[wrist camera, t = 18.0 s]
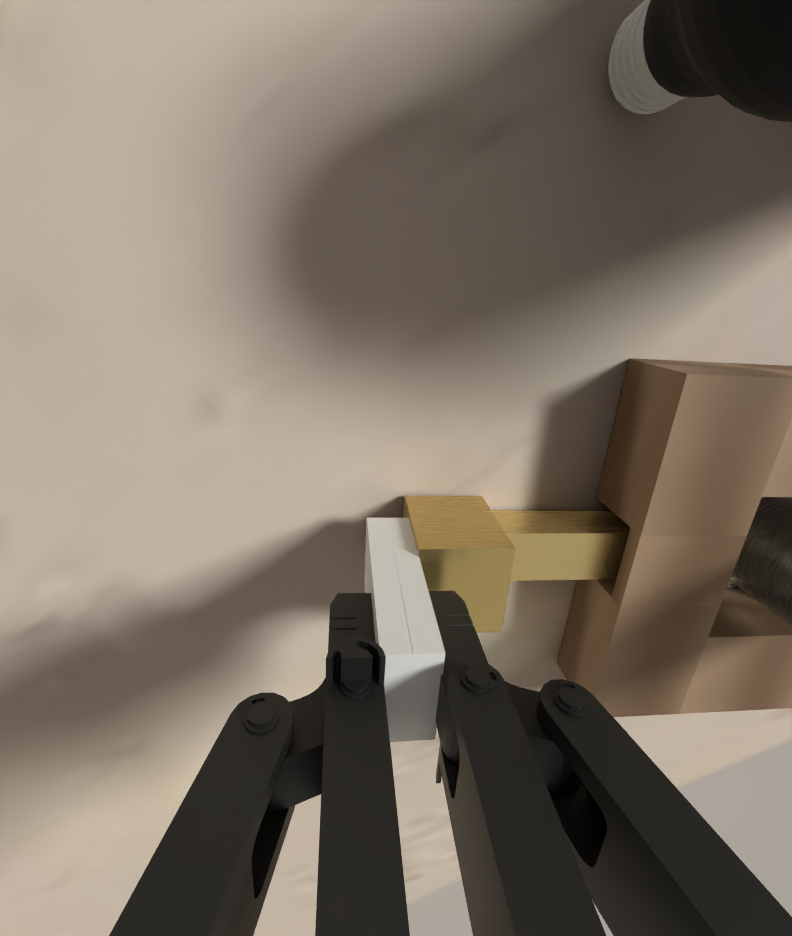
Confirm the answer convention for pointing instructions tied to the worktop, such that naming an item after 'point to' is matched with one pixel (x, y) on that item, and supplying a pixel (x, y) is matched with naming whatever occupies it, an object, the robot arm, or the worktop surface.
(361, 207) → the worktop surface
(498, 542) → the lock pin
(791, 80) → the light bulb
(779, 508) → the cylinder
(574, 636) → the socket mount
